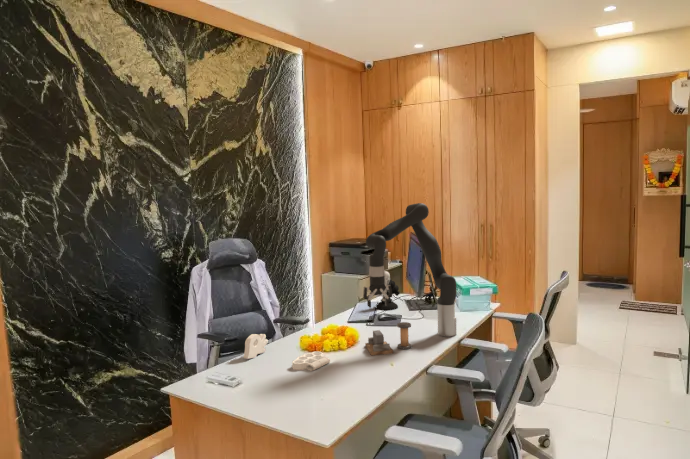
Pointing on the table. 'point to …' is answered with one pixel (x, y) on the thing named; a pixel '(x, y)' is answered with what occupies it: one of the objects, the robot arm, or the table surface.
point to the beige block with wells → (310, 361)
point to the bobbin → (404, 335)
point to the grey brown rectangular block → (377, 337)
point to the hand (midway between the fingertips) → (378, 306)
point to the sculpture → (394, 291)
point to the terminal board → (378, 347)
